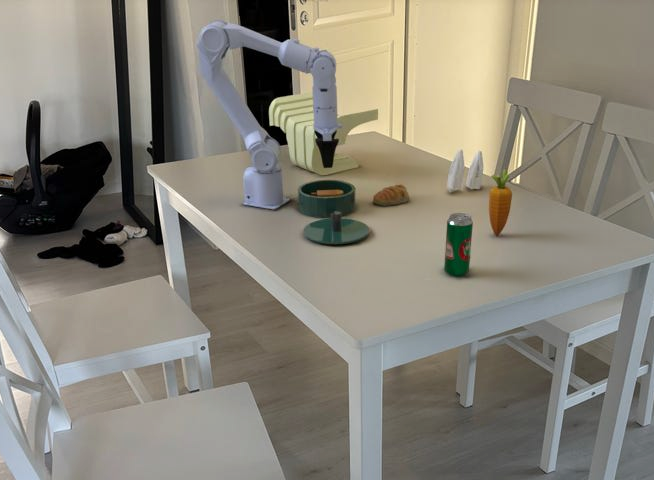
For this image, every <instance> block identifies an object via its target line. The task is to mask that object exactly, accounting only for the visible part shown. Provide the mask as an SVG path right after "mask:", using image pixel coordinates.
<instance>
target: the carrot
mask: <svg viewBox="0 0 654 480" xmlns="http://www.w3.org/2000/svg"><path fill="white" fill-rule="evenodd" d="M490 176H491V178H492V179H493V180H494V181H495V183H496V186H494V187H492V188H491V189H490V190H489V196H488V215H489V223H490V226H491V229H492V232H493V234H494V235H495V237H498V236H500V235H501V233H502V231H503V230H504V229H505V227H506V224H507V222H508V218H509V215H510V212H511V206H512V199H513V191H512V190H511V188H510V187H508V186H506V184H507V181H508V180H509V178H510V175H509V174H508V170H507V169H503V170H502V178H501V176H500V175H498V174H497V175H495V174H492V175H490Z"/></svg>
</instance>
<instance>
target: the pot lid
mask: <svg viewBox="0 0 654 480" xmlns="http://www.w3.org/2000/svg"><path fill="white" fill-rule="evenodd" d="M302 232H303V233H302V234H303V235H304V237H305V238H307V239H308V240H309V241H312V242H314V243H318V244H319V243H320V244H326V245H346V244H352V243H355V242H359V241H362V240H364V239H365V238H367V237H368V236H369V235H370V227H369V226H368V224H366V223H364V222H362V221H360V220H357V219H353V218H344V217H343V218H342V216H341V212H339V211H334V212H331V218H321V219H318V220H315V221H312V222H310V223H308V224H306V225H305V226H304V228H303V231H302Z"/></svg>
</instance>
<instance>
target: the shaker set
mask: <svg viewBox="0 0 654 480" xmlns="http://www.w3.org/2000/svg"><path fill="white" fill-rule="evenodd" d="M483 159H484V158H483V151H482V150H478V151H477V152H476V154H475V155H474V157H473V159H472V161H471V163H470V165H469V168H468V172H467V178H466V183H465V187H466V188H468V189H469V190H474V189H475V190H480V189H481V185H482V180H483V174H484V160H483ZM464 175H465V158H464V151H463V149H459V150H458V151H457V152H456V154H455V155H454V158H453V160H452V161H451V164H450V166H449V170H448V175H447V182H446V189H447V190H448V192H449V193H454V192H458V191H460V190H462V186H463V180H464Z"/></svg>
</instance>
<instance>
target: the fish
mask: <svg viewBox="0 0 654 480" xmlns="http://www.w3.org/2000/svg"><path fill="white" fill-rule="evenodd" d="M341 195H343V191H342V190H317V193H311V196H316V197H335V196H341Z"/></svg>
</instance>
